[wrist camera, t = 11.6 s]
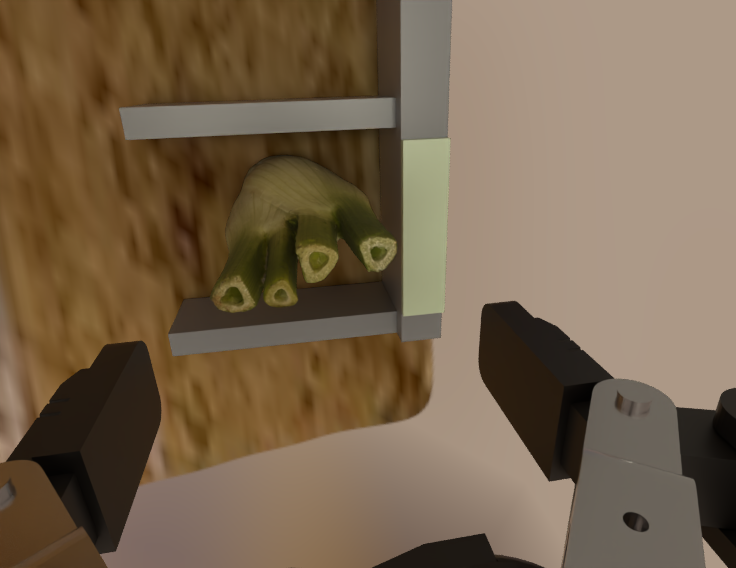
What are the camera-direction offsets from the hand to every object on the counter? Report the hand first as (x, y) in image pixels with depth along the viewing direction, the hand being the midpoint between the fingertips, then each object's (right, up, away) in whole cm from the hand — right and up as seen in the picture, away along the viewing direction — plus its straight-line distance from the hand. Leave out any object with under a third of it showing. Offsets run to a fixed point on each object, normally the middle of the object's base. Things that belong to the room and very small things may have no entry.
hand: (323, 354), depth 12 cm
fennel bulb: (-3, +6, +14) cm, 15 cm away
